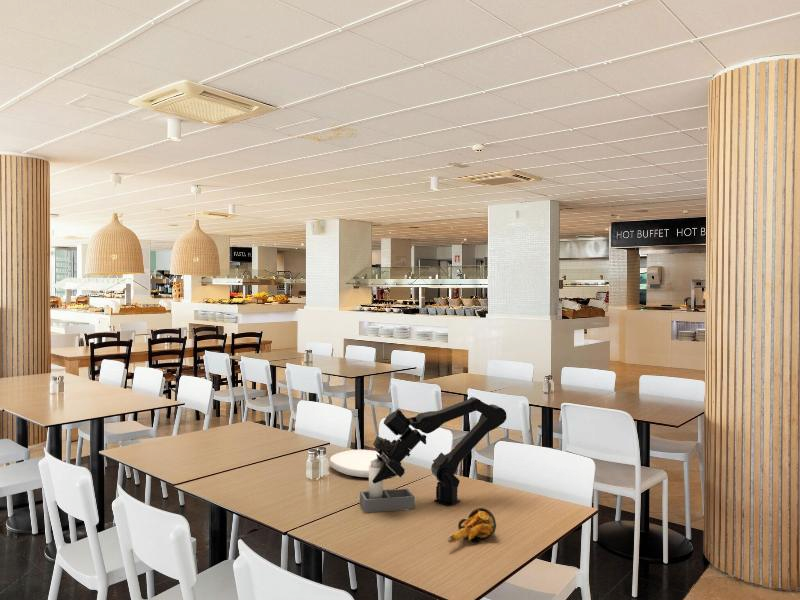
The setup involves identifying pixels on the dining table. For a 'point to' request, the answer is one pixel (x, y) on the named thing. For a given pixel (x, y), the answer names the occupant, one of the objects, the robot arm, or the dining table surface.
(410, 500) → the condiment caddy
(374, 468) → the salt mill
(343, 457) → the plate
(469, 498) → the dining table surface
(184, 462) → the dining table surface
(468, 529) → the fried shrimp in bowl
